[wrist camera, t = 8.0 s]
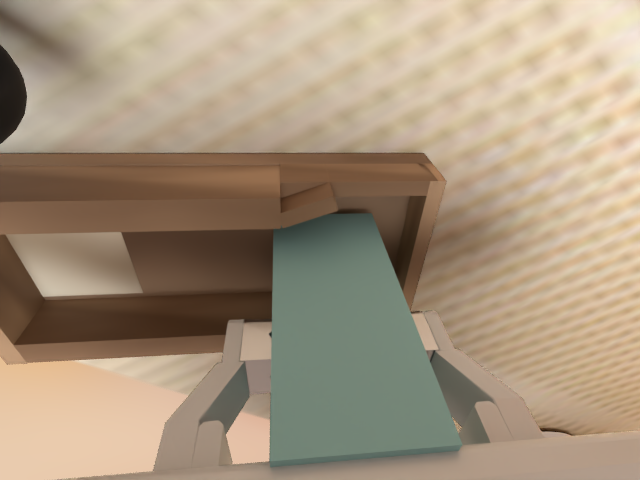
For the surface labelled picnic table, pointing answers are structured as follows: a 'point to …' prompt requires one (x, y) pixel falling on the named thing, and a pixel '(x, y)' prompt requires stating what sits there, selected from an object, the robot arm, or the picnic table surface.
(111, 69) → the picnic table surface
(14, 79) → the mug
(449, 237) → the picnic table surface
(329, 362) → the block
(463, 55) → the picnic table surface
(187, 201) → the brown wooden tray
